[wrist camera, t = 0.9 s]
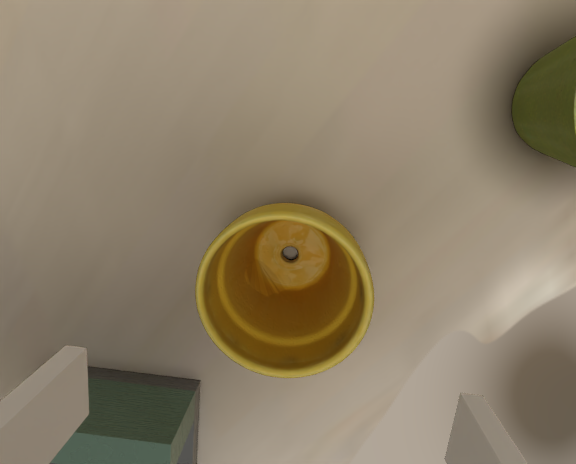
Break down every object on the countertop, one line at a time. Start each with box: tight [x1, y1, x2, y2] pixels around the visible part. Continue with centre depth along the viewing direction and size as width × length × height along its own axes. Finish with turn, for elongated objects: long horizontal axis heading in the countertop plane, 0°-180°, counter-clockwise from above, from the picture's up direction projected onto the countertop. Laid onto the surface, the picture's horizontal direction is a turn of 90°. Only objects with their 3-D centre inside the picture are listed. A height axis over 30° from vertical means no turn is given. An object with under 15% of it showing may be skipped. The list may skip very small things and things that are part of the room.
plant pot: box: [195, 203, 374, 378], centre depth 27 cm, size 10×10×10 cm
